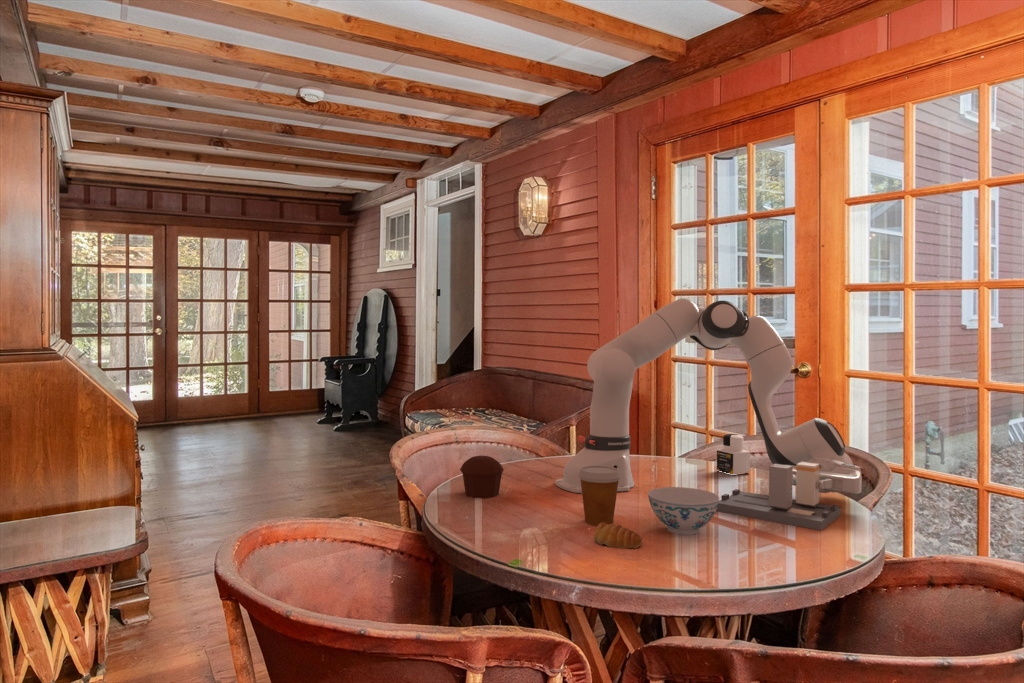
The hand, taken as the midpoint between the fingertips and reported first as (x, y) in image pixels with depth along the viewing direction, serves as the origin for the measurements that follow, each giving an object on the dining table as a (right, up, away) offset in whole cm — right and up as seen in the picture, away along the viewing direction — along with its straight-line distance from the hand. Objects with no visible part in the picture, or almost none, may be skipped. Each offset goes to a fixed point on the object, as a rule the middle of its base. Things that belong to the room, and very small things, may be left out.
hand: (806, 483), depth 152 cm
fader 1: (-7, -5, -2) cm, 9 cm away
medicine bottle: (-1, -8, +49) cm, 50 cm away
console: (-6, -8, +2) cm, 10 cm away
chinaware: (-33, -8, -12) cm, 36 cm away
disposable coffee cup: (-50, -8, -6) cm, 51 cm away
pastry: (-49, -8, -21) cm, 54 cm away
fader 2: (+1, -5, +1) cm, 5 cm away
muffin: (-78, -7, +19) cm, 81 cm away
